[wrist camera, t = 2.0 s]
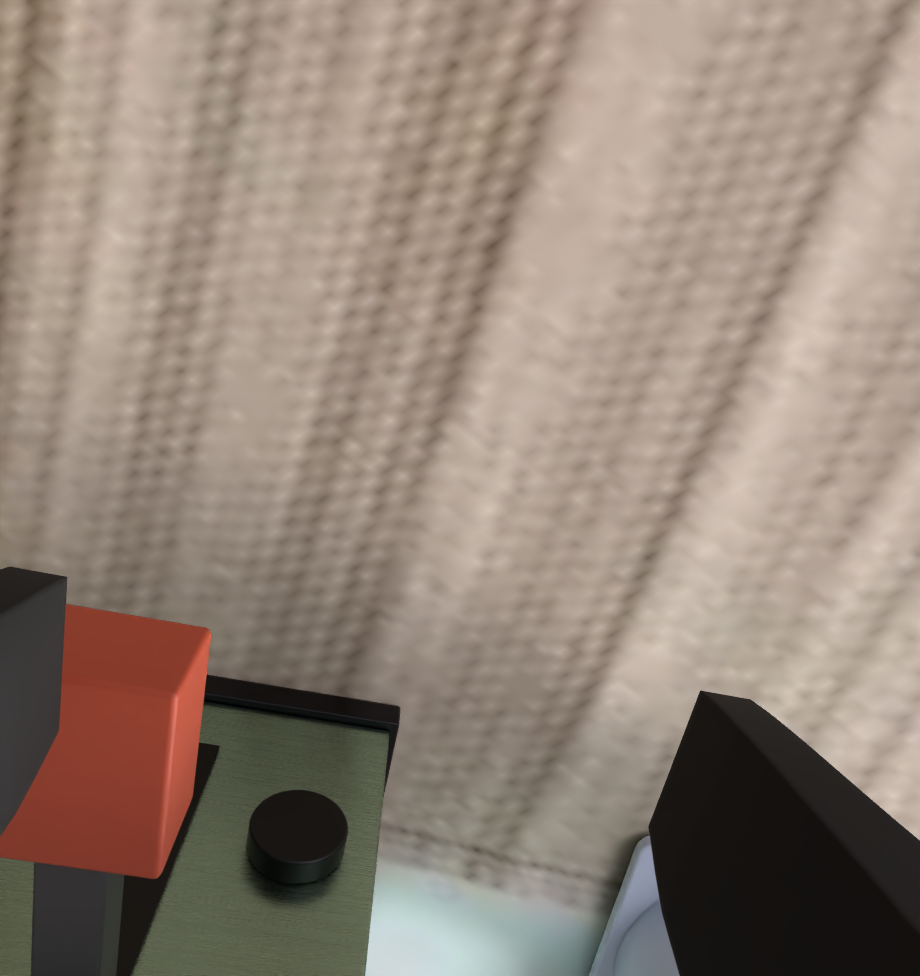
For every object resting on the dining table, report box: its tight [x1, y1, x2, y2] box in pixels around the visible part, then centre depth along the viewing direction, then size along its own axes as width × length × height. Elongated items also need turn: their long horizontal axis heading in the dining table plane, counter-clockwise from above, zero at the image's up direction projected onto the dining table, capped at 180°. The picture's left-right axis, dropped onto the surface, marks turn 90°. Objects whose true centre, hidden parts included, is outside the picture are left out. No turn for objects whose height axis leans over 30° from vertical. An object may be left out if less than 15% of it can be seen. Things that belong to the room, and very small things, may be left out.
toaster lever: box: [0, 604, 211, 976], centre depth 12 cm, size 6×3×2 cm, turn 168°
